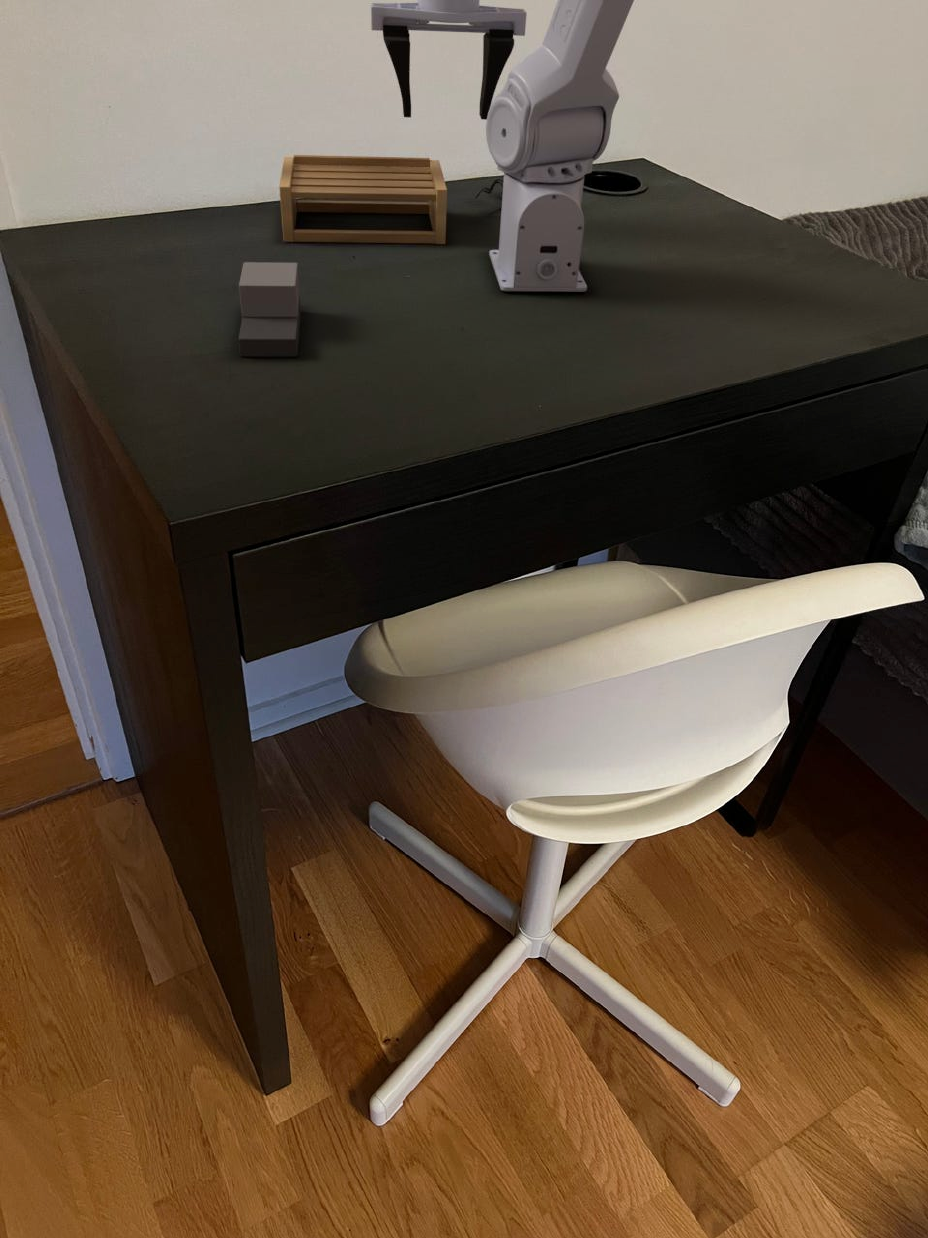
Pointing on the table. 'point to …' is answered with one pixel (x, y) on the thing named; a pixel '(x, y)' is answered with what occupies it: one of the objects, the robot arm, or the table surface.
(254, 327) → the grey step block
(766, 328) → the table surface
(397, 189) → the shoe rack
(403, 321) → the table surface
